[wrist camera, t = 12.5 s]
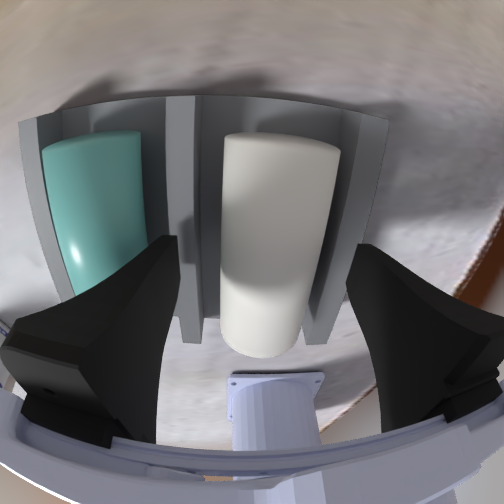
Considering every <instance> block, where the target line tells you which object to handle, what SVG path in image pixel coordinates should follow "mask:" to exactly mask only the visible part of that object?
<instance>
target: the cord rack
mask: <svg viewBox="0 0 504 504" xmlns="http://www.w3.org/2000/svg"><path fill="white" fill-rule="evenodd" d="M389 122H390V120H387V119H383V118H380V117H376V116H372V115H368V114H364V113H360V112H356V111H351V110H346V109H341V108H336V107H331V106H325V105H319V104H313V103H306V102H299V101H291V100H282V99H272V98H261V97H247V96H224V95H183V96H161V97H147V98H136V99H127V100H118V101H111V102H104V103H98V104H92V105H86V106H80V107H75V108H70V109H66V110H61V111H57V112H53V113H49V114H45V115H41V116H38V117H34V118H31V119H28V120H24V121H21V122H18V126H19V138H20V148H21V156H22V163H23V170H24V176H25V182H26V187H27V192H28V197H29V202H30V206H31V210H32V214H33V218H34V222H35V226H36V230H37V233H38V237H39V240H40V243H41V247H42V250H43V253H44V256H45V259H46V262H47V265H48V268H49V271H50V273H51V276H52V279H53V281H54V284H55V287H56V289H57V292H58V294H59V296H60V299H61V301H62V302H65V301H67V300H69V299H71V298H73V297H75V296H76V295H75V293H74V290H73V287H72V284H71V281H70V278H69V275H68V272H67V269H66V266H65V263H64V259H63V256H62V252H61V249H60V245H59V241H58V238H57V234H56V230H55V226H54V221H53V217H52V212H51V208H50V203H49V197H48V192H47V186H46V180H45V173H44V166H43V158H42V150H43V149H44V148H46V147H47V146H49V145H52V144H54V143H56V142H59V141H62V140H65V139H69V138H72V137H76V136H80V135H85V134H90V133H96V132H104V131H114V130H134V131H139V132H141V162H142V183H143V198H144V211H145V222H146V232H147V241H148V246H149V245H150V244H151V243H152V242H154V241H155V240H156V239H157V238H159V237H160V236H161V235H177V238H178V252H179V264H180V275H181V280H180V287H179V293H178V299H177V303H176V306H175V310H174V313H173V316H179V320H180V327H181V333H182V340H183V343H195V344H201V340H202V331H203V322H204V318H217V319H220V274H221V219H222V187H223V162H224V141H225V136H227V135H229V134H234V133H242V132H269V133H280V134H289V135H295V136H301V137H306V138H311V139H315V140H318V141H322V142H325V143H328V144H330V145H333V146H335V147H337V148H338V149H339V150H340V151H341V153H340V159H339V165H338V170H337V176H336V181H335V187H334V192H333V197H332V202H331V207H330V212H329V217H328V221H327V226H326V230H325V235H324V239H323V244H322V248H321V252H320V257H319V261H318V265H317V269H316V273H315V277H314V281H313V285H312V289H311V293H310V297H309V300H308V304H307V308H306V311H305V315H304V319H303V322H302V329H303V333H304V337H305V342H306V345H317V344H326V343H327V341H328V339H329V336H330V334H331V331H332V328H333V326H334V323H335V321H336V318H337V315H338V313H339V310H340V307H341V305H342V302H343V299H344V296H345V293H346V291H347V288H346V283H345V282H346V279H347V276H348V273H349V270H350V267H351V264H352V260H353V257H354V254H355V250H356V247H357V244H358V243H359V244H362V241H363V237H364V234H365V230H366V227H367V223H368V219H369V216H370V212H371V208H372V204H373V200H374V196H375V192H376V188H377V183H378V179H379V175H380V170H381V165H382V160H383V156H384V151H385V145H386V140H387V134H388V129H389Z"/></svg>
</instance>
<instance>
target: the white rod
mask: <svg viewBox="0 0 504 504" xmlns="http://www.w3.org/2000/svg"><path fill="white" fill-rule="evenodd" d="M340 153H341V151H340V150H339V149H338V148H337V147H335V146H333V145H330V144H328V143H325V142H322V141H318V140H315V139H311V138H306V137H301V136H295V135H289V134H280V133H269V132H242V133H234V134H229V135H227V136H225V141H224V162H223V187H222V219H221V274H220V329H221V334H222V336H223V338H224V340H225V341H226V343H227V344H228V345H229V346H230V347H231V348H233V349H234V350H236V351H237V352H239V353H241V354H243V355H246V356H250V357H254V358H271V357H276V356H279V355H281V354H283V353H285V352H287V351H288V350H290V349H291V348H292V347H293V346H294V344H295V343H296V341H297V339H298V336H299V333H300V329H301V326H302V322H303V319H304V315H305V311H306V308H307V304H308V300H309V297H310V293H311V289H312V285H313V281H314V277H315V273H316V269H317V265H318V261H319V257H320V252H321V248H322V244H323V239H324V235H325V230H326V226H327V221H328V217H329V212H330V207H331V202H332V197H333V192H334V187H335V181H336V176H337V170H338V165H339V159H340Z"/></svg>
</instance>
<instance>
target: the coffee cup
mask: <svg viewBox="0 0 504 504" xmlns="http://www.w3.org/2000/svg"><path fill="white" fill-rule="evenodd" d="M15 382H16V380H15V379H14V378H13V376H12V375H11V374H9V376H8V379H7V381H6V383H5V385H4V388H3V389H4V390H7V391H9V392H11V393H12V390H13V387H14V384H15Z"/></svg>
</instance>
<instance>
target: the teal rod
mask: <svg viewBox="0 0 504 504" xmlns="http://www.w3.org/2000/svg"><path fill="white" fill-rule="evenodd" d="M42 158H43V166H44V173H45V180H46V186H47V192H48V197H49V203H50V208H51V212H52V217H53V221H54V226H55V230H56V234H57V238H58V241H59V245H60V249H61V252H62V256H63V259H64V263H65V266H66V269H67V272H68V275H69V278H70V281H71V284H72V287H73V290H74V293H75V295H76V296H77V295H79V294H80V293H82V292H84V291H86V290H88V289H90V288H92V287H93V286H95V285H97V284H98V283H100V282H101V281H103V280H105V279H106V278H108V277H109V276H111V275H112V274H113V273H115V272H116V271H117V270H119V269H120V268H121V267H123V266H124V265H125V264H127V263H128V262H129V261H131V260H132V259H133V258H134V257H136V256H137V255H138V254H139V253H140V252H142V251H143V250H144V249H145V248H146V247H148V241H147V232H146V222H145V211H144V198H143V183H142V162H141V132H139V131H134V130H114V131H104V132H96V133H90V134H85V135H80V136H76V137H72V138H69V139H65V140H62V141H59V142H56V143H54V144H52V145H49V146H47V147H46V148H44V149H43V150H42Z"/></svg>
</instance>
